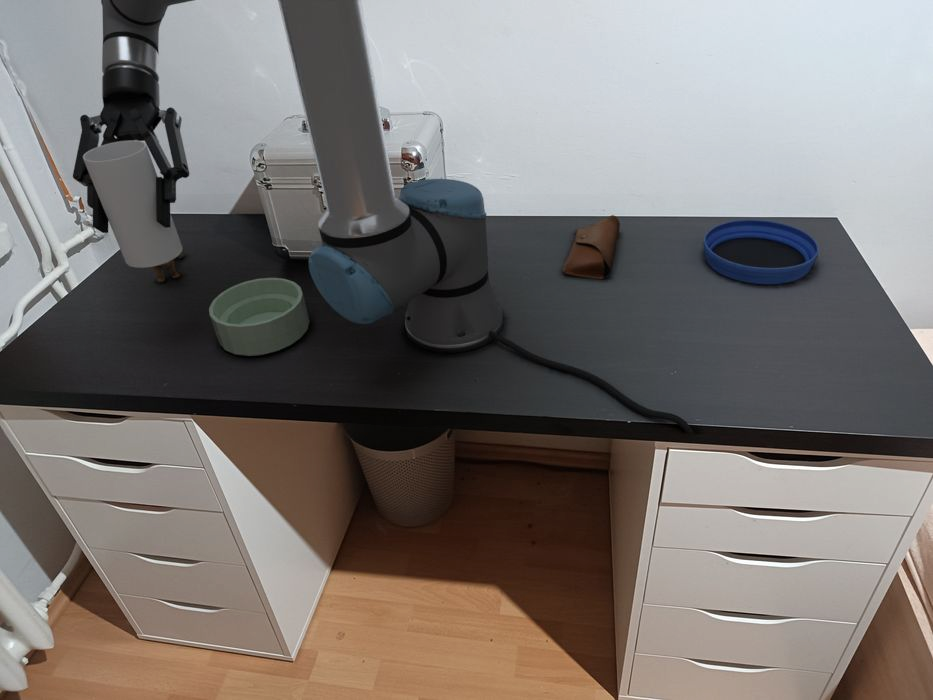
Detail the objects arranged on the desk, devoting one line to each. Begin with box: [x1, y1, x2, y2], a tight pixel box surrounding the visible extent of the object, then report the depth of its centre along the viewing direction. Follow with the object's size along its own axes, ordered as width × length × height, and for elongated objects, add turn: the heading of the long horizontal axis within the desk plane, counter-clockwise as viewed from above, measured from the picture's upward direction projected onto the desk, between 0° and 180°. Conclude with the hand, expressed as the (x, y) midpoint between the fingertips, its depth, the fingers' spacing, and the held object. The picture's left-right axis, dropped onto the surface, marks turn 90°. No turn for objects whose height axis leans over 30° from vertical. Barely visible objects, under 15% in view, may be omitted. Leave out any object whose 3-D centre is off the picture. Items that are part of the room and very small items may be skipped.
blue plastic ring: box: [702, 219, 819, 285], centre depth 116 cm, size 18×18×4 cm
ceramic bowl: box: [208, 277, 310, 357], centre depth 108 cm, size 14×14×6 cm
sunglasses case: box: [561, 214, 621, 280], centre depth 122 cm, size 18×7×7 cm
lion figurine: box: [153, 251, 184, 283], centre depth 127 cm, size 15×5×9 cm, turn 22°
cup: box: [83, 140, 183, 269], centre depth 98 cm, size 8×8×16 cm
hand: (132, 226), depth 96 cm, fingers closed on cup, 8 cm apart
